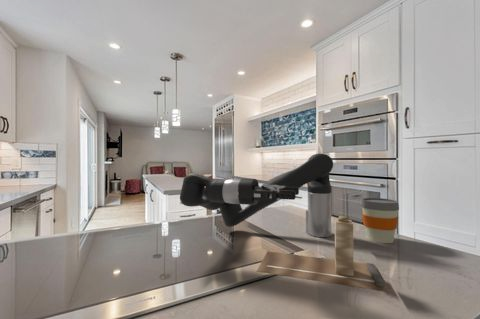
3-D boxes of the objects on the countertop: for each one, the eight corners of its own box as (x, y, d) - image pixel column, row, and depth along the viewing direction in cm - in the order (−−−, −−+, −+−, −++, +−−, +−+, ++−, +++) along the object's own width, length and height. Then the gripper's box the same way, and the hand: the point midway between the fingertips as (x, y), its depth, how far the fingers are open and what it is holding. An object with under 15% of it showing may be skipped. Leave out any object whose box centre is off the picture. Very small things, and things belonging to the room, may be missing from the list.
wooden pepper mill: (336, 273, 58) (335, 218, 58) (334, 266, 62) (334, 215, 62) (353, 276, 57) (353, 219, 57) (351, 269, 61) (350, 216, 61)
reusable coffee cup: (356, 239, 89) (356, 200, 89) (366, 232, 98) (366, 196, 98) (395, 247, 80) (395, 204, 80) (402, 239, 89) (401, 200, 89)
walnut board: (256, 277, 60) (256, 267, 60) (267, 256, 73) (267, 248, 73) (390, 298, 50) (389, 287, 50) (374, 270, 63) (374, 261, 63)
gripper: (248, 200, 75) (300, 202, 69) (232, 208, 61) (294, 212, 56) (248, 176, 75) (299, 177, 69) (231, 180, 61) (293, 181, 56)
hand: (297, 192), depth 63 cm, fingers open, 8 cm apart
